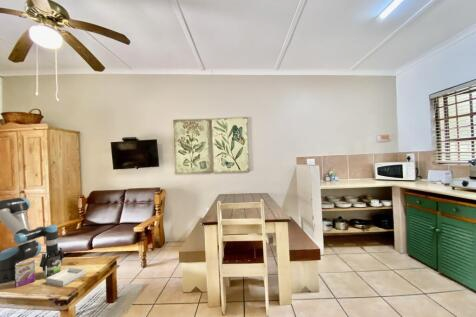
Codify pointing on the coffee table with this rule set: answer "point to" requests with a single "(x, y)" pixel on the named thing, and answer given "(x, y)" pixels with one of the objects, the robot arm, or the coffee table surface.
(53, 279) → the tote
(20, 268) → the candy bar box
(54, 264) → the coffee can
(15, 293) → the coffee table surface
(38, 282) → the coffee table surface
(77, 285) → the coffee table surface
